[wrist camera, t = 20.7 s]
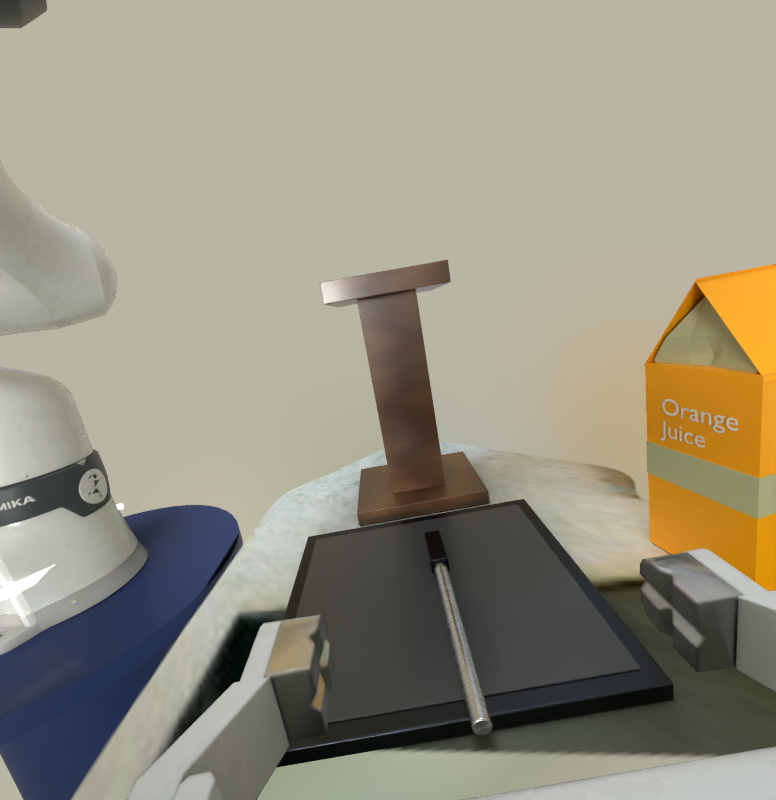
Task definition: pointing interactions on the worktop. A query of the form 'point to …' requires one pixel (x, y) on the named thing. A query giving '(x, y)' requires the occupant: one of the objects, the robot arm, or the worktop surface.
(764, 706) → the worktop surface
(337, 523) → the worktop surface
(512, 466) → the worktop surface
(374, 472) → the brown wooden pedestal
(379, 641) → the tablet
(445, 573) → the stylus
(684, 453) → the orange juice
